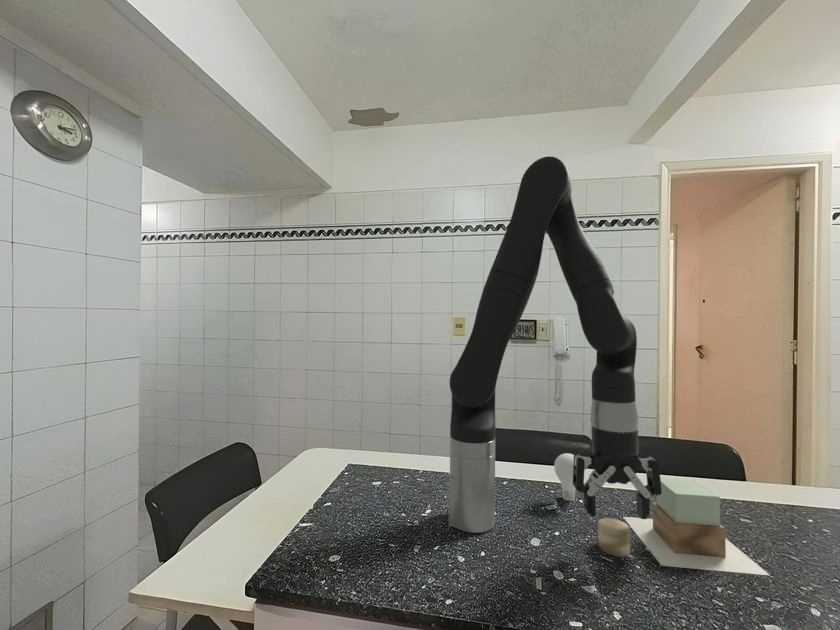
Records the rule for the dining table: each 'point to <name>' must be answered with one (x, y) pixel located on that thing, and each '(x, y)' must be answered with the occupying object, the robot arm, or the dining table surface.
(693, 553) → the walnut block
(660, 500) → the sage block
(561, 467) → the lightbulb
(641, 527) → the base board
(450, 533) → the dining table surface
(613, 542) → the birch cylinder
